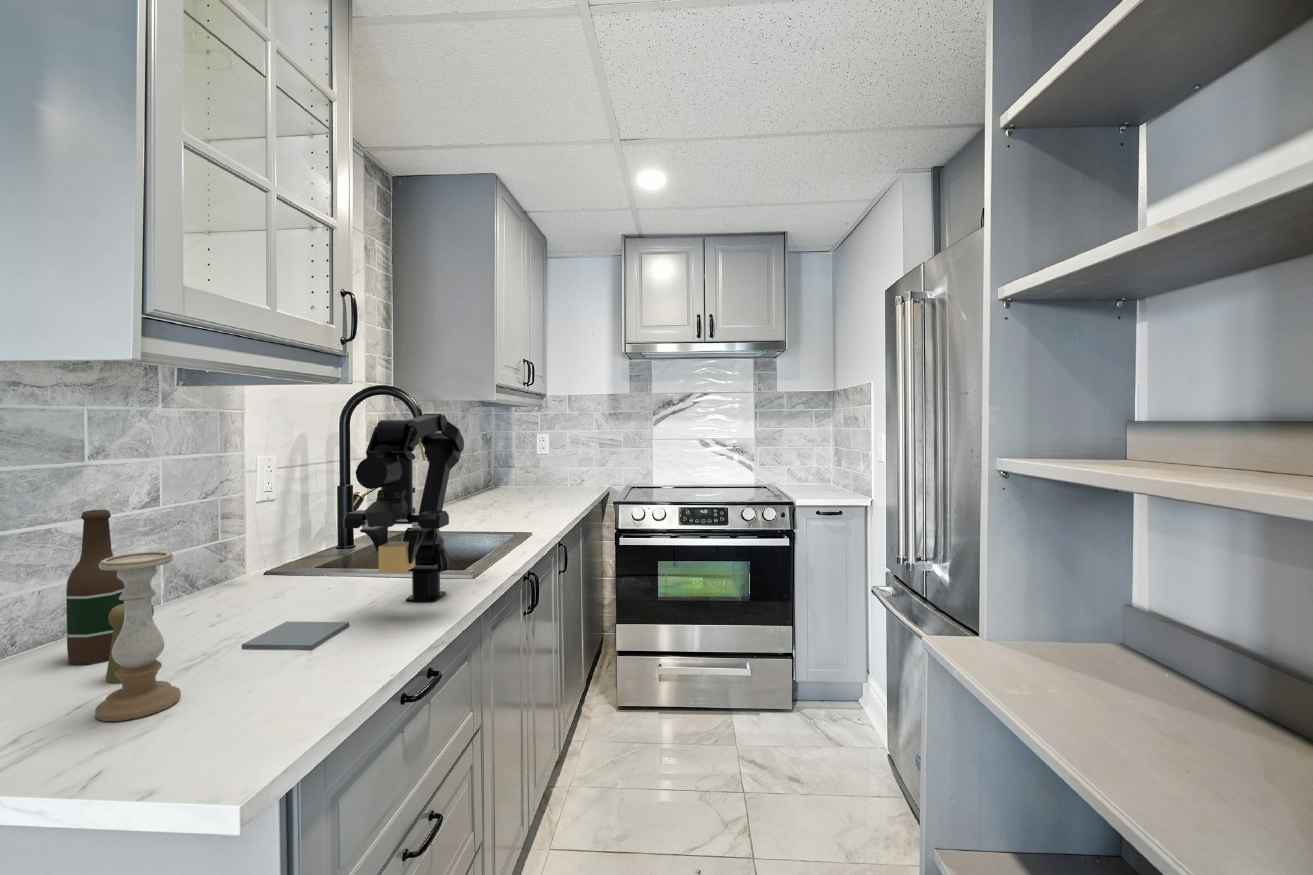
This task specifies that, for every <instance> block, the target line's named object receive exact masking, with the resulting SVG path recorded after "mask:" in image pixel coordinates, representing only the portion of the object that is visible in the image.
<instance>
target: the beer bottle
mask: <svg viewBox="0 0 1313 875" xmlns="http://www.w3.org/2000/svg"><path fill="white" fill-rule="evenodd" d="M111 517H112V514H111V513H110V510H108V509H91V510H90V509H89V510H86V511H83V512H82V514H81V516H80V518H81V520H83V525H82V539H81V540H82V541H81V542H82V543H81V553H80V556H79V561H78V563H77V564H76V565H75V566H74V568H73V569H72V570H71V572H70V574H69V576H68V578H67V581H66V593H65V596H66V597H65V598H66V600H65V601H66V602H65V603H66V604H65V605H66V649H67V658H68V659H67V660H68V664H69V665H70V666H73V665H74V666H88V665H93V664H94V665H95V664H98V663H99V664H100V663H105V662H109V655H110V649H111V642H112V636H113V629H114V628H113V627H112V626H111V625H110V624H109V621H108V616H109V613H110V611H111V610H112V608H114V607H116V606H118V605H121V604H124V601H122V600H119V597H120V595H121V594H122V593H123V591H124V589H125V586H124V583H123V582H122V581H121V580H120V579H118V578H117V571H108V570H102V569H100V568H99V563H100V561H101V560H103V559H106V558H109V557H113V556H114V555H113V554H114V553H113V550H112V541H111V540H112V538H111V530H110V521H109V520H110V518H111Z"/></svg>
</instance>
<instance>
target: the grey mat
mask: <svg viewBox="0 0 1313 875" xmlns="http://www.w3.org/2000/svg"><path fill="white" fill-rule="evenodd" d="M349 627H350V622H349V621H290V620H289V621H284V622H282V623H280V624H279V625H277V626H275V627H273V628H271V629H269V630H267V631H265V632H263V633H261V634H260V635H257V636H256V637H254V638H252V639H250V640H248V641H246V642H244V643H242V644H241V649H242V650H282V649H300V651H302V650H303V649H306V650H305V651H308V650H309V651H311V650H314V649H315V648H317V647H319V646H320V645H322V644H323V643H325V642H327V641H328V640H329V639H331V638H333V637H334V636H336V635H338V634H339V633H341V632H342V631H344V630H345V629H348V628H349ZM303 651H304V650H303Z"/></svg>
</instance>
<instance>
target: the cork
mask: <svg viewBox="0 0 1313 875" xmlns="http://www.w3.org/2000/svg"><path fill="white" fill-rule="evenodd" d="M124 609H125V607H124V604H121V605H118V606H116V607H114V608H112V610H111V611H110V613H109V616H108V621H109V624H110V625H111V626H112V627H113V628H114V629H113V636H112V642H111V649H110V655H109V661H107V662H108V663H107V670H106V676H105V683H107V684H114V685H118V684H119V685H120V684H122V682H121V681H120V679H119V678H118V677H116V676H115V673H116V671H117V670H118V669H120V667H121V665H119V664H117V663H116V662H115V661H114V659H113V658H112V648H113V645H114V643H115V640H116V639H117V637H118V635H119V633H120V631H121V629H122V626H123V622H124ZM151 610H152V618H153V616H154V611H155V608H154V606H153V605H152V604H151Z"/></svg>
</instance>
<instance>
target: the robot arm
mask: <svg viewBox="0 0 1313 875" xmlns="http://www.w3.org/2000/svg"><path fill="white" fill-rule="evenodd" d="M419 443H421V446H422V447H423V449H424V450H423V453H424V455H425V457H426V460H427V462H428V467H427V472H426V477H425V482H424V486H423V491H422V495H421V501H420V505H419V509H418V510H419V511H418V514H415V513H416V507H413V506H414V505H413V502H414V501H413V500H414V499H413V496H414V495H413V494H415V493H416V487H414V486H413V485H414V484H413V482H414V481H413V470H414V469H413V460H415V459H416V455H415V454H414V453H413V452H414V451H415V448H416V446H418V445H419ZM464 448H465V441H464V437H463V436H462V433H461V431H460V429H459V428H458V427H456V426H455V424H453V423H451V422H450V421H448V419H447V417H446V415H445V414H442V413H424V414H421V415H420V416H417V417H413V418H410V419H380V420H379V421H378V422H377V423H376V426H375V427H374V428H373V431H372V433H371V437H370V439H369V442H368V445H367V448H366V449H365V450H366V451H365V455H366V458H363V459H362V460H361V461H360V462H359V464H358V465H357V467H356V469H355V476H356V480H357V482H358V483H359V485H361V486H362V487H363V488H365V489H369V490H375V489H379V490H377V494H376V499H375V501H373V502H372V503H371V504H370V505H369V506H368V507H367V508H366V509H360V510H359V509H357V510H355V511H349V512H347V513H346V514H345V515H344V517H343V519H342V528H343V529H360V528H361V529H360V530H359V531H360V533H362V534H363V533H364V534H366V535H367V536H368V537H369V538H370V540H371V542H372V543H373V545H374V547H375V550H376V552H377V554H378V547H379V546H381V545H384V544H386V543H388V542H389V540H388V537H389V536H388V534H389V533H388V532H389V528H391V527H393V526H394V525H411V526H412V527H407V528H406V529H405V531H404V537H403V541H402V542H409V549H408V560H409V564H411V563H413V561H414V558H415V567H414V568H412V569H410V570H408V571H407V573H409V572H411V574H412V575H411V579H412V580H411V584H412V585H411V589H412V590H411V592H412V593H411V595H410V596H408V597H407V598H405V601H406V602H437V601H439V599H440V598H442V597H444V596H445V594H446V593H447V591H442V590H441V573H442V572H447V571H449V567H450V566H449V565H450V556H449V554H448V552H447V551H446V548H445V546H444V544H445V541H444V538H443V534H442V533H441V530H440V529H441V528H443V527H446V526H447V525H449V524H450V516H449V513H448V512H447V510H443V508H444V503H445V498H446V493H447V487H448V482H449V477H450V472H451V470H452V469H453V468H454V467H455V466H456V465H457V464H458V463H459V462H460V459H461V455H462V452H463V451H464Z"/></svg>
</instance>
